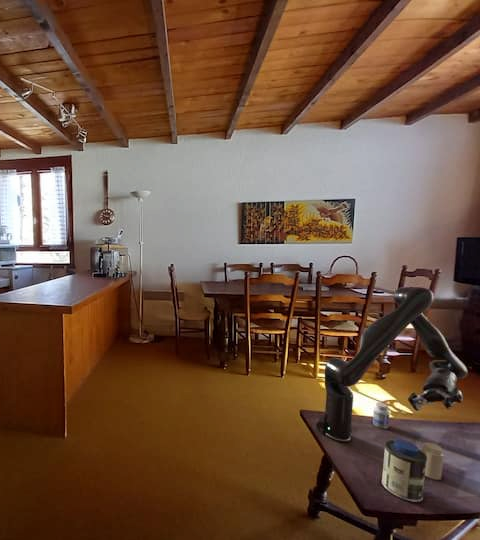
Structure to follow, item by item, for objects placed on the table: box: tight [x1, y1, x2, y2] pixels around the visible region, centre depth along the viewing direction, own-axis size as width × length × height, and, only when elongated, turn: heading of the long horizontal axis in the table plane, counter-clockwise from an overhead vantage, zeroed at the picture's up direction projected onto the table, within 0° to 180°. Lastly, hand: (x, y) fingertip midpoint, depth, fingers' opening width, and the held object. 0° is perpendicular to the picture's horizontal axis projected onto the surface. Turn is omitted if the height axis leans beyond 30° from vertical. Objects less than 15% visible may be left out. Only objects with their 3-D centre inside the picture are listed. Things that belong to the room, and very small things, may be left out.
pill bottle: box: [372, 402, 390, 429], centre depth 137 cm, size 6×5×10 cm
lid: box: [393, 438, 419, 456], centre depth 100 cm, size 6×6×2 cm
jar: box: [421, 442, 445, 481], centre depth 108 cm, size 5×5×11 cm
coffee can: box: [381, 439, 427, 503], centre depth 101 cm, size 10×10×14 cm
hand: (430, 407), depth 105 cm, fingers open, 8 cm apart
